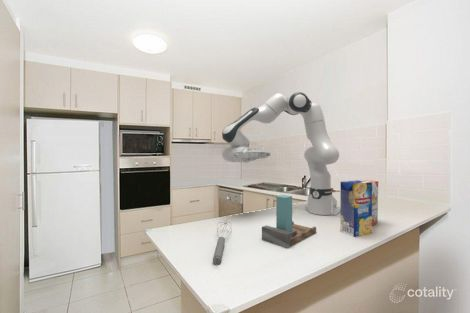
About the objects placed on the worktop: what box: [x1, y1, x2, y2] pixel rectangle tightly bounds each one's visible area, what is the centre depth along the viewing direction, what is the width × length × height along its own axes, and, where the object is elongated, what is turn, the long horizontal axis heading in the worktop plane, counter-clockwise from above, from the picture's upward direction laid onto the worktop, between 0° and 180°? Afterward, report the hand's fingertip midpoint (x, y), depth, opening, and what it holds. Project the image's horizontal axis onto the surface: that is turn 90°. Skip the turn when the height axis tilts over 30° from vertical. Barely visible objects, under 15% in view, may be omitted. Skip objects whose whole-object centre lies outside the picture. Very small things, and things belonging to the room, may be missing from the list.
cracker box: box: [364, 179, 379, 226], centre depth 108 cm, size 14×6×21 cm, turn 129°
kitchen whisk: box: [212, 219, 232, 268], centre depth 84 cm, size 6×34×6 cm, turn 178°
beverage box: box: [340, 179, 373, 238], centre depth 97 cm, size 7×11×22 cm, turn 114°
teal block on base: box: [275, 194, 297, 237], centre depth 90 cm, size 7×7×16 cm
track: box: [261, 220, 317, 249], centre depth 93 cm, size 22×12×5 cm, turn 134°
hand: (264, 154), depth 115 cm, fingers open, 8 cm apart
